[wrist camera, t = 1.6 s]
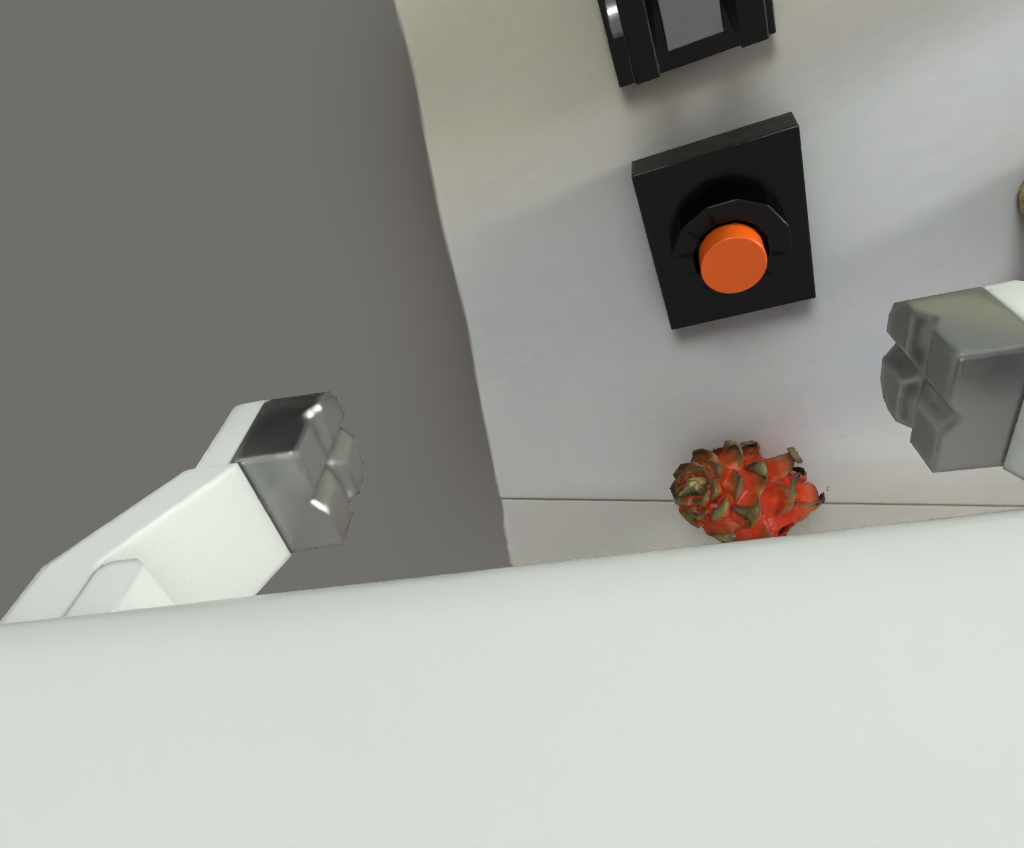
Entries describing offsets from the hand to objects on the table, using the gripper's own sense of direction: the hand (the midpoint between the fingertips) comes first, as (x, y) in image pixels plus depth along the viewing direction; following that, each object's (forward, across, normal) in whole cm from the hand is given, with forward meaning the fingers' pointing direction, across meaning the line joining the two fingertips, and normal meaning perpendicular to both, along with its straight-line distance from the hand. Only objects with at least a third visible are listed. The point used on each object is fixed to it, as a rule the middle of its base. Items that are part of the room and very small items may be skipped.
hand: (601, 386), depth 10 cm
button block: (+33, -9, +12) cm, 36 cm away
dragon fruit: (+35, -10, +33) cm, 49 cm away
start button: (+29, -8, +12) cm, 33 cm away
